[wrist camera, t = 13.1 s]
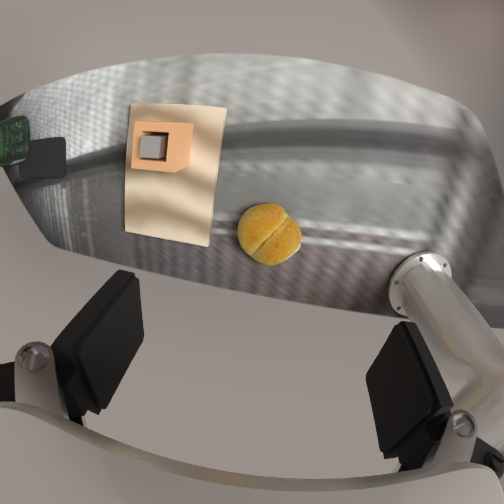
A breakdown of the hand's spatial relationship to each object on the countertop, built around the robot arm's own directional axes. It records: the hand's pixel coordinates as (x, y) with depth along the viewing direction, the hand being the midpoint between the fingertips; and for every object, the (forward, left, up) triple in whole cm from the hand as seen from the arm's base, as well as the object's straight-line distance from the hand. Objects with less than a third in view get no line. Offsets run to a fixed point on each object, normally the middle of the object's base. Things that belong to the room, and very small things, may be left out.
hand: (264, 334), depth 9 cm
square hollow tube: (+10, +12, -29) cm, 33 cm away
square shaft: (+10, +12, -29) cm, 33 cm away
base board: (+6, +14, -30) cm, 34 cm away
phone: (+21, +38, -31) cm, 53 cm away
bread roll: (-7, +4, -31) cm, 32 cm away
